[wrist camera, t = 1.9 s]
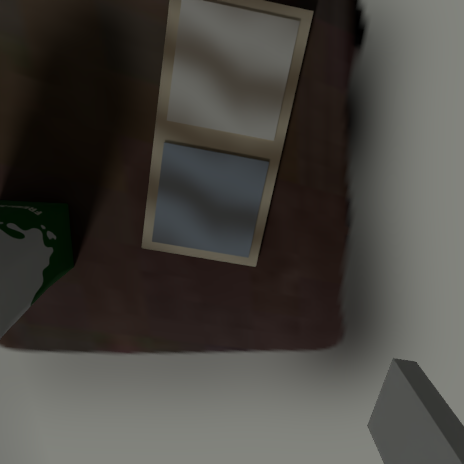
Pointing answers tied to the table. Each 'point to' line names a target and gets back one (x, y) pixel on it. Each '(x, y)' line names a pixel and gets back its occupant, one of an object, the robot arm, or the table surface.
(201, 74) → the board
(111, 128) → the table surface
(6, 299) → the milk carton
